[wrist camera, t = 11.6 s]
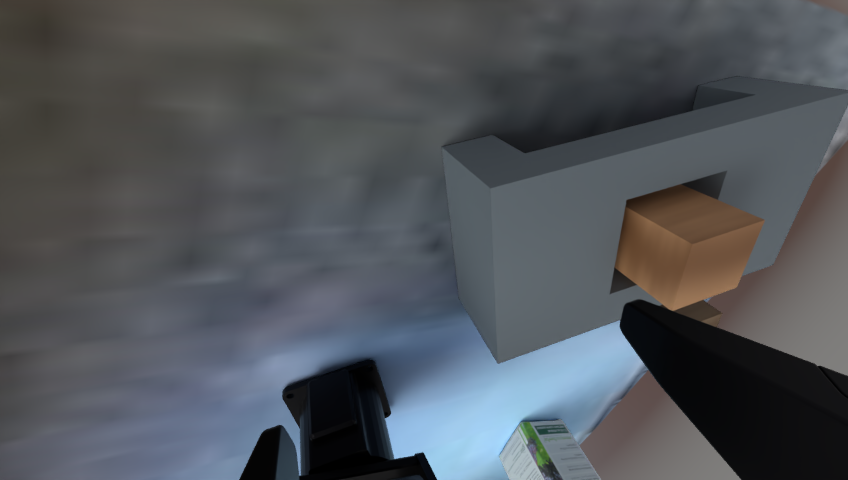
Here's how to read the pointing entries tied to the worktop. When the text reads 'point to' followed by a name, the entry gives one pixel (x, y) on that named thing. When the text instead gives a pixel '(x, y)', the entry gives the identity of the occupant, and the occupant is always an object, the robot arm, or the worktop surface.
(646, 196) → the long pin
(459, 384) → the worktop surface
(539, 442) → the syrup box
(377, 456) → the robot arm
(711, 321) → the short pin
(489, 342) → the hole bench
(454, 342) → the worktop surface
